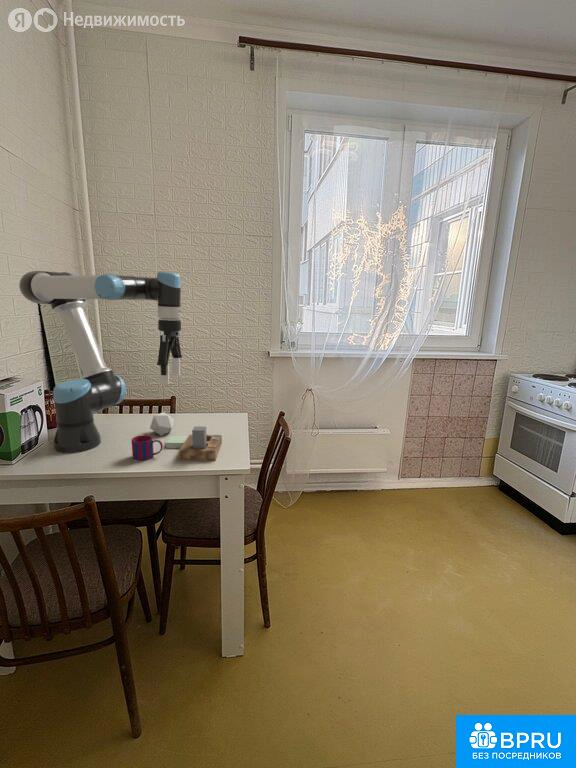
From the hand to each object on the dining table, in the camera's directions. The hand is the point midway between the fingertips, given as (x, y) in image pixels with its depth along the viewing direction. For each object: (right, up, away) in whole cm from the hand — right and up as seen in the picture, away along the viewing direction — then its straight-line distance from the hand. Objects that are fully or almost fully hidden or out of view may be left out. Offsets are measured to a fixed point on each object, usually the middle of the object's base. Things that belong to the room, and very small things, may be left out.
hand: (170, 379), depth 135 cm
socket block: (+11, -26, +1) cm, 28 cm away
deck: (+1, -24, +7) cm, 25 cm away
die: (-9, -21, +18) cm, 29 cm away
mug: (-6, -27, -5) cm, 28 cm away
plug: (+11, -26, -3) cm, 29 cm away
